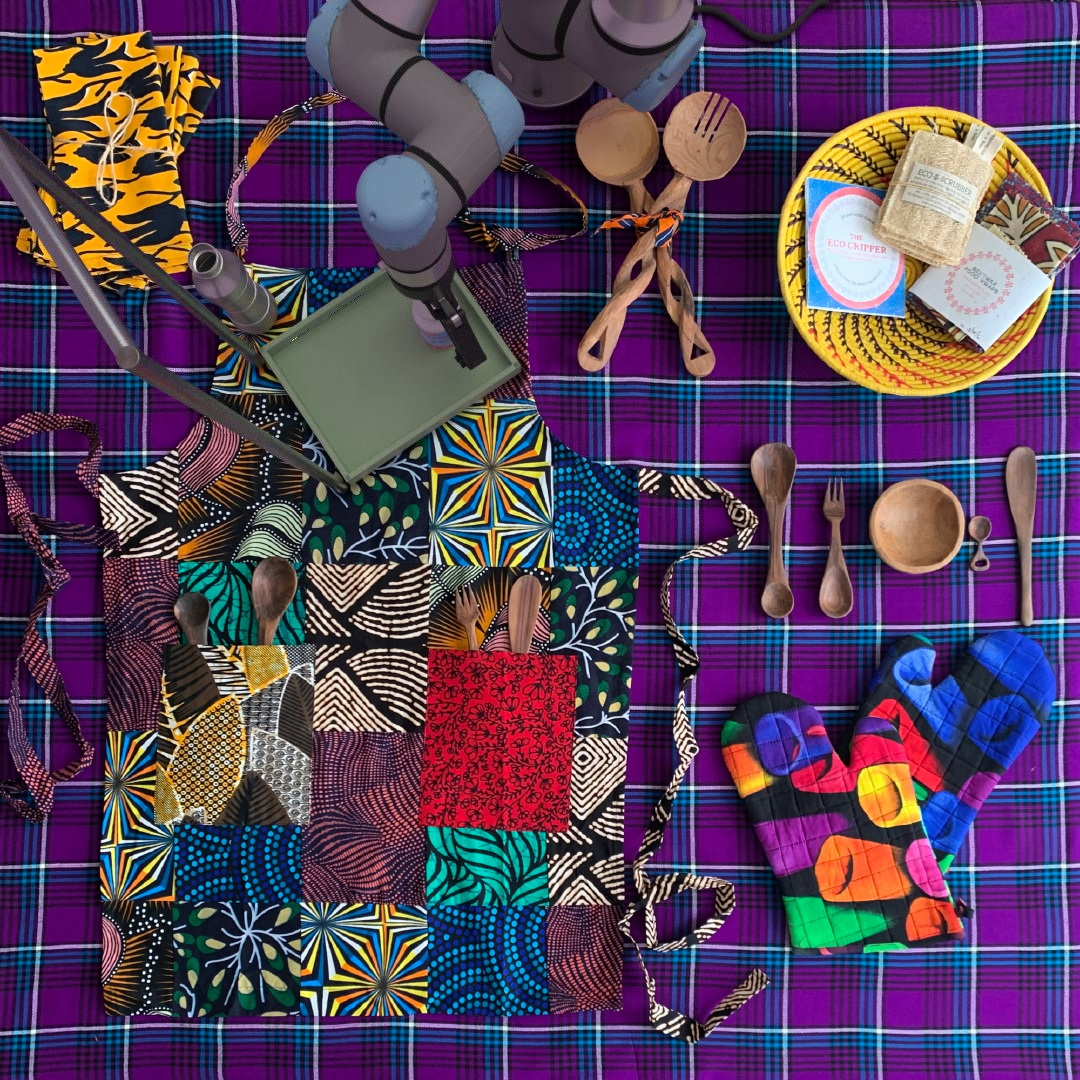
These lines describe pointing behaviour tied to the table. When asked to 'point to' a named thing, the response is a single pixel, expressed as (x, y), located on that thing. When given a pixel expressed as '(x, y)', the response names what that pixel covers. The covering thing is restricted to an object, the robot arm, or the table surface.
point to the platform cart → (290, 346)
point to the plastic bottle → (232, 288)
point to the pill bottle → (430, 327)
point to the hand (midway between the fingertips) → (441, 319)
